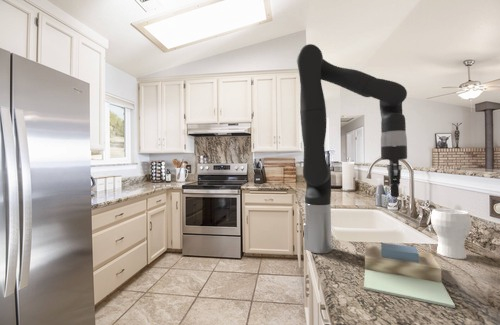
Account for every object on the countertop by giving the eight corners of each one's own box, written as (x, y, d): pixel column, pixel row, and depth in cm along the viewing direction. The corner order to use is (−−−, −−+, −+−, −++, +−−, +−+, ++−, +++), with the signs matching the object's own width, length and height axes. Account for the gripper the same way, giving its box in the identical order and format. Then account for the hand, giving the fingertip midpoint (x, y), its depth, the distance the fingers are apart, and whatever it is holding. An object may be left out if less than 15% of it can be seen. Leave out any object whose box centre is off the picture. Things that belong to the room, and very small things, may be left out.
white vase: (432, 247, 88) (431, 207, 89) (470, 253, 82) (469, 210, 82) (431, 255, 80) (430, 211, 80) (474, 263, 74) (472, 215, 74)
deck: (365, 270, 70) (364, 257, 70) (366, 256, 81) (365, 244, 81) (441, 284, 62) (441, 268, 62) (431, 266, 72) (431, 253, 72)
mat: (363, 289, 60) (363, 286, 60) (365, 271, 70) (365, 269, 70) (455, 308, 51) (455, 305, 51) (442, 284, 61) (441, 282, 61)
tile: (381, 257, 70) (381, 248, 70) (381, 250, 75) (381, 242, 75) (418, 262, 66) (418, 253, 66) (415, 255, 71) (415, 246, 71)
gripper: (380, 147, 87) (381, 194, 87) (381, 144, 75) (382, 198, 75) (404, 146, 84) (405, 194, 83) (409, 143, 72) (410, 200, 72)
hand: (394, 196), depth 79 cm, fingers closed
